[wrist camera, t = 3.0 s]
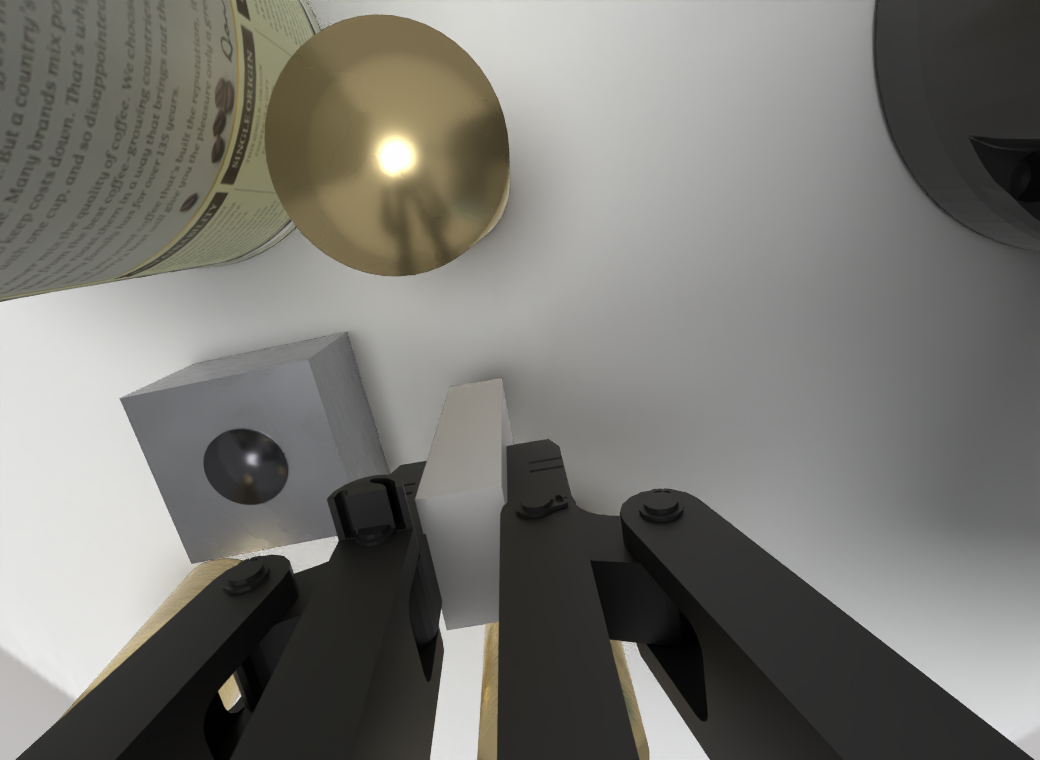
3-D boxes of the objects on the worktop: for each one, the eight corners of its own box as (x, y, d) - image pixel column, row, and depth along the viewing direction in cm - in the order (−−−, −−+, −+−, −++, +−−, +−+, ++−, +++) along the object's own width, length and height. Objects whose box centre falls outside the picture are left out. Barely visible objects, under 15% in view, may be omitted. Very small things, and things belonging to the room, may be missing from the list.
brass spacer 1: (267, 551, 21) (102, 778, 13) (295, 636, 23) (162, 897, 14) (166, 567, 22) (-63, 802, 13) (200, 650, 23) (10, 917, 14)
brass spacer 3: (586, 489, 21) (640, 681, 12) (600, 579, 22) (656, 812, 13) (482, 506, 21) (462, 707, 12) (500, 594, 22) (493, 835, 14)
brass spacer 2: (497, 105, 17) (484, -8, 9) (519, 237, 18) (526, 255, 10) (371, 127, 17) (233, 39, 9) (400, 257, 18) (302, 294, 10)
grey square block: (348, 330, 19) (307, 360, 15) (390, 472, 21) (362, 531, 17) (196, 362, 20) (117, 399, 16) (249, 500, 21) (190, 565, 17)
